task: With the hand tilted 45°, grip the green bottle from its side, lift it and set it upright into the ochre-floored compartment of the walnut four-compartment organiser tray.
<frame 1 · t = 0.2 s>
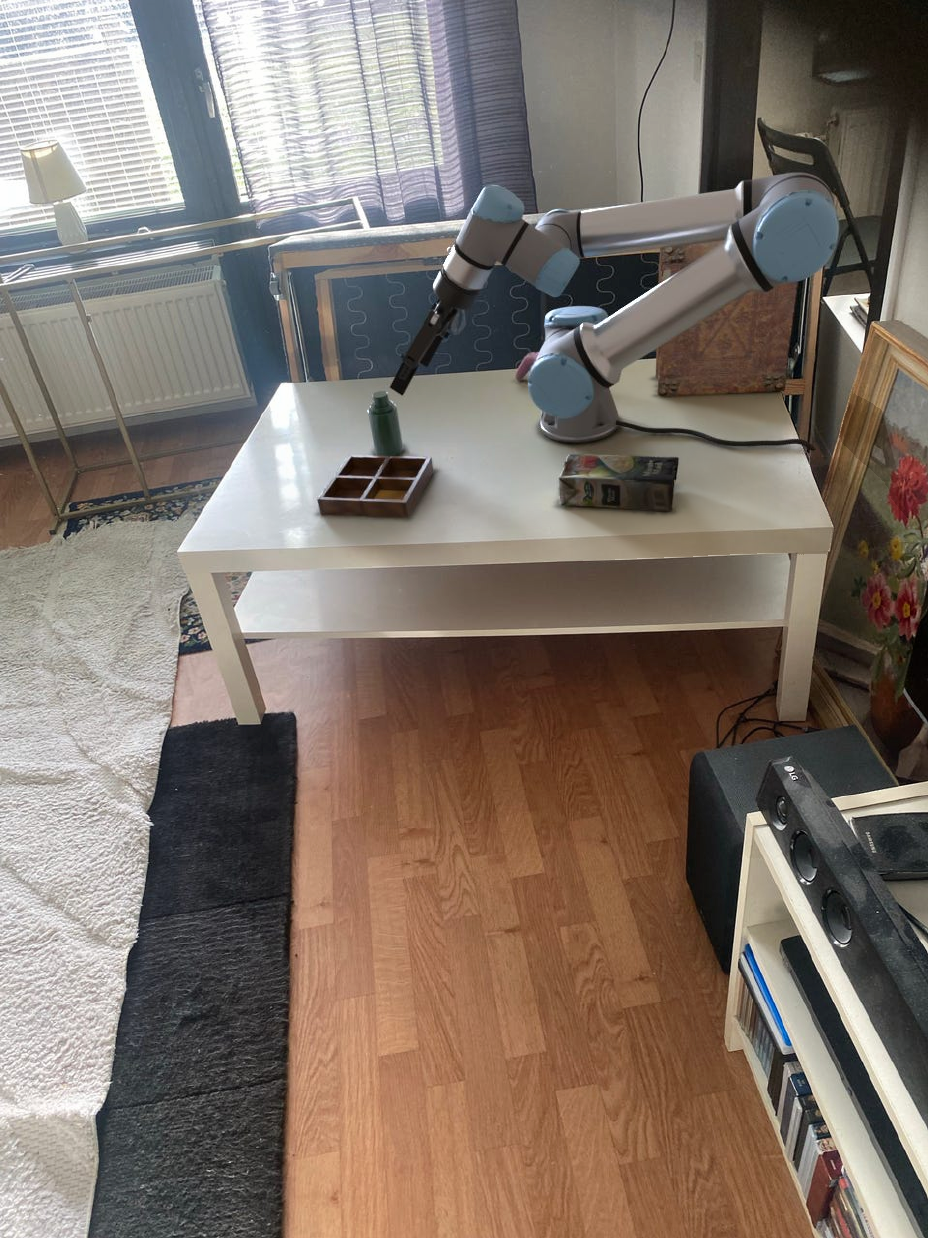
hand: (409, 376, 167), 16 cm above the table, tool tilted 35°, fingers open, 13 cm apart
book: (718, 385, 188), on the table
green bottle: (389, 451, 179), on the table
tray: (378, 492, 166), on the table
juice carton: (617, 496, 157), on the table
video game controller: (539, 381, 199), on the table
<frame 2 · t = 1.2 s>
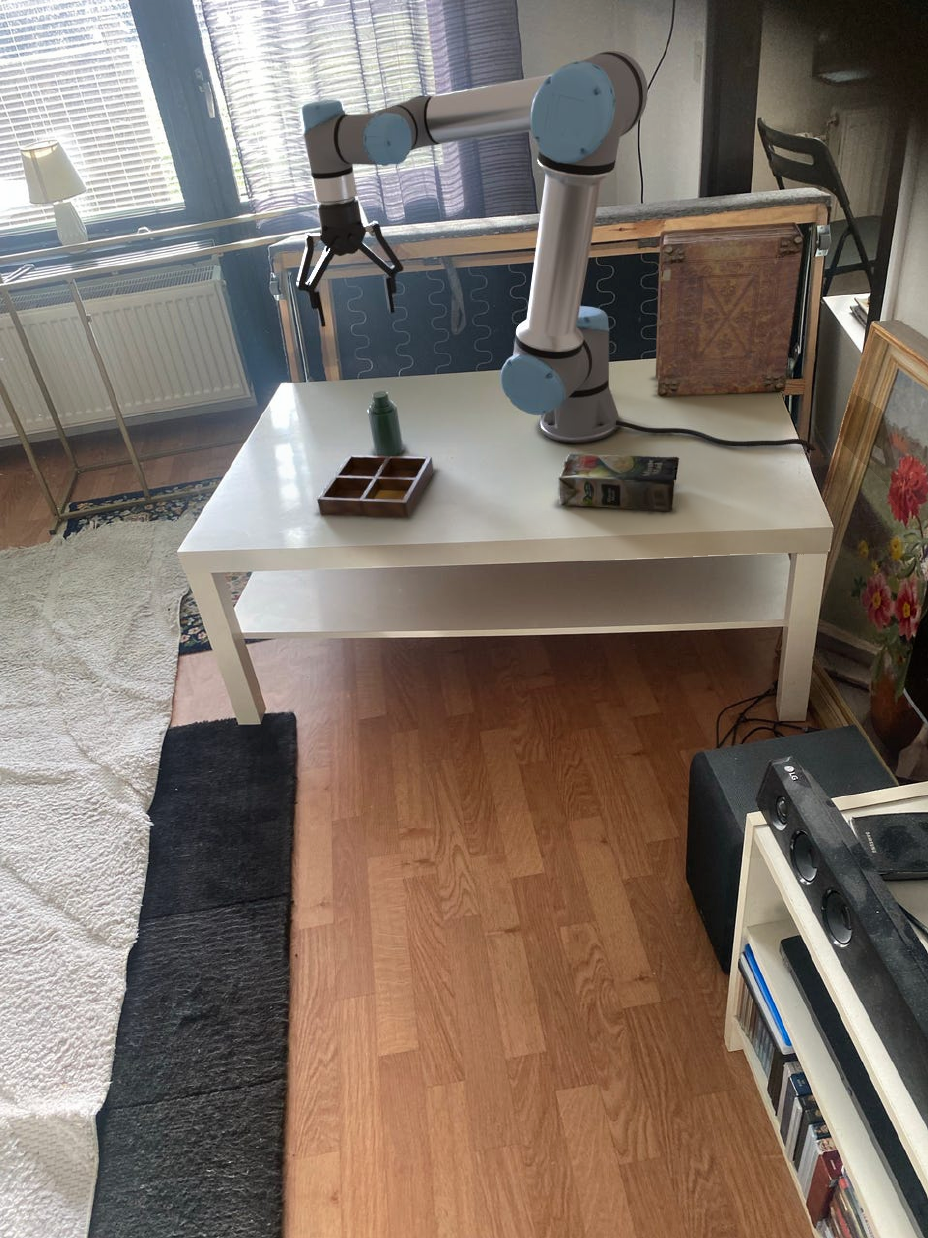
hand: (357, 317, 175), 23 cm above the table, tool pointing down, fingers open, 13 cm apart
nothing on the table moved.
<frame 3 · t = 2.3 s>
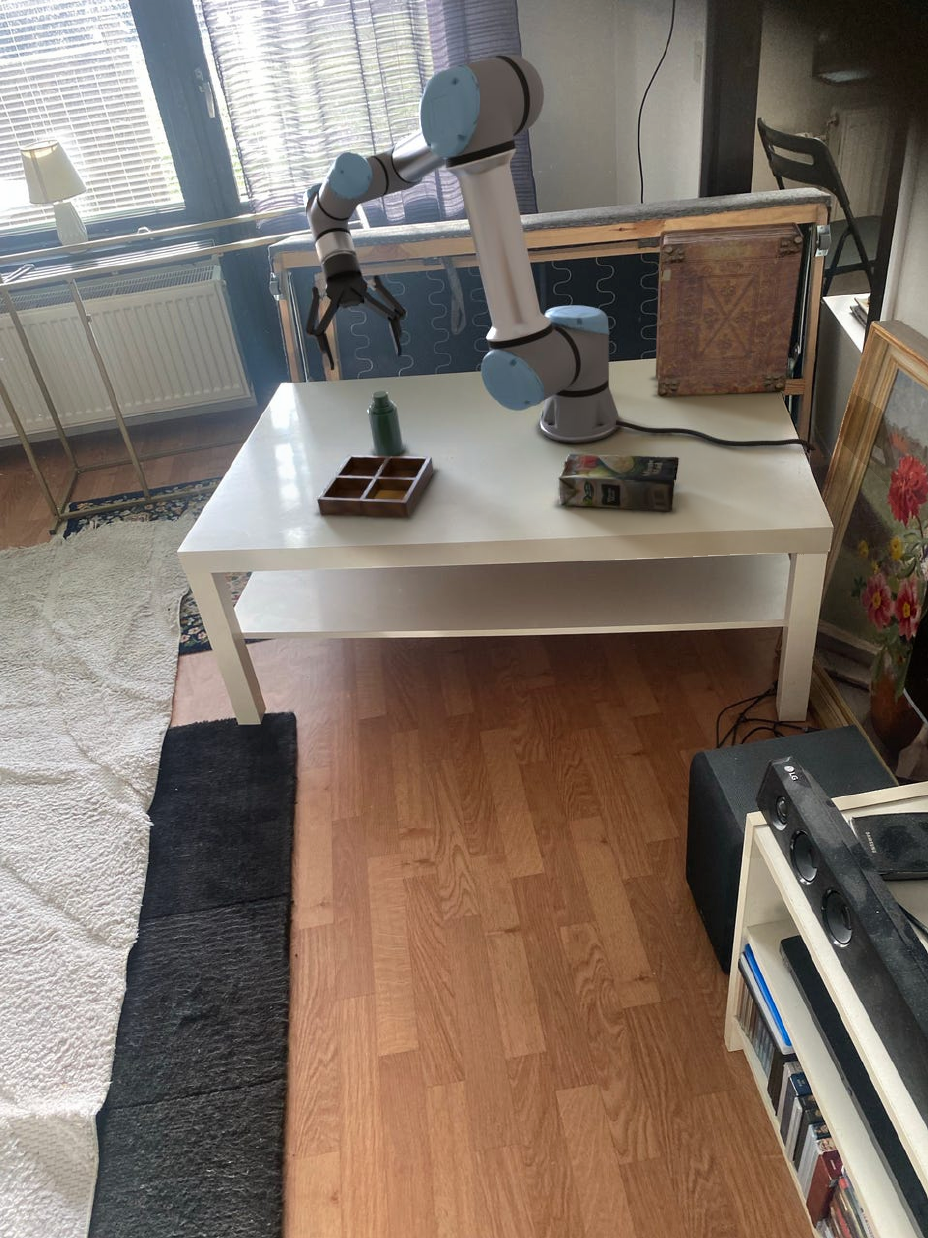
hand: (366, 360, 178), 15 cm above the table, tool tilted 45°, fingers open, 13 cm apart
nothing on the table moved.
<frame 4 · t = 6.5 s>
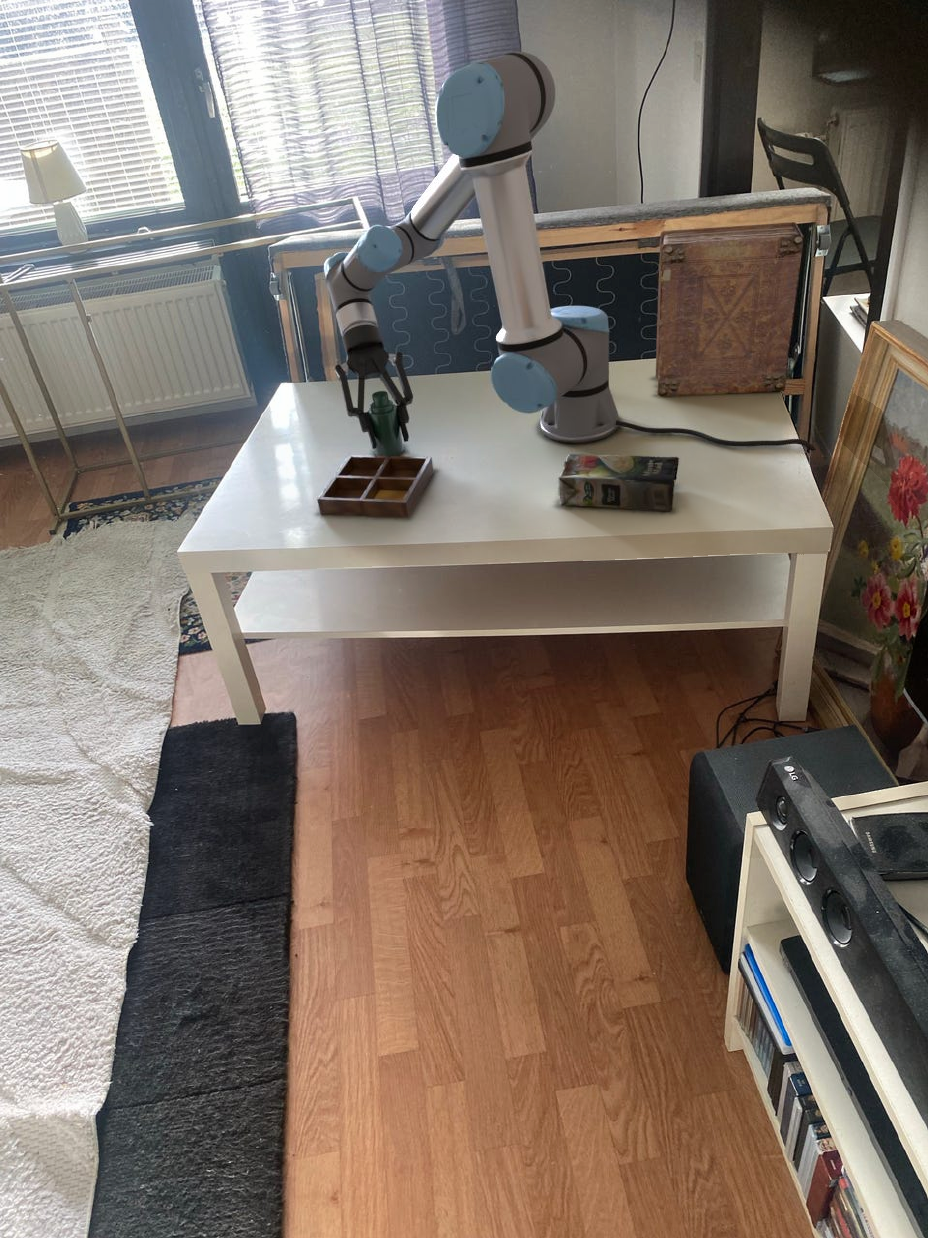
hand: (390, 442, 174), 4 cm above the table, tool tilted 45°, fingers closed on green bottle, 6 cm apart
green bottle: (389, 451, 179), on the table, touching gripper
everything else where it was.
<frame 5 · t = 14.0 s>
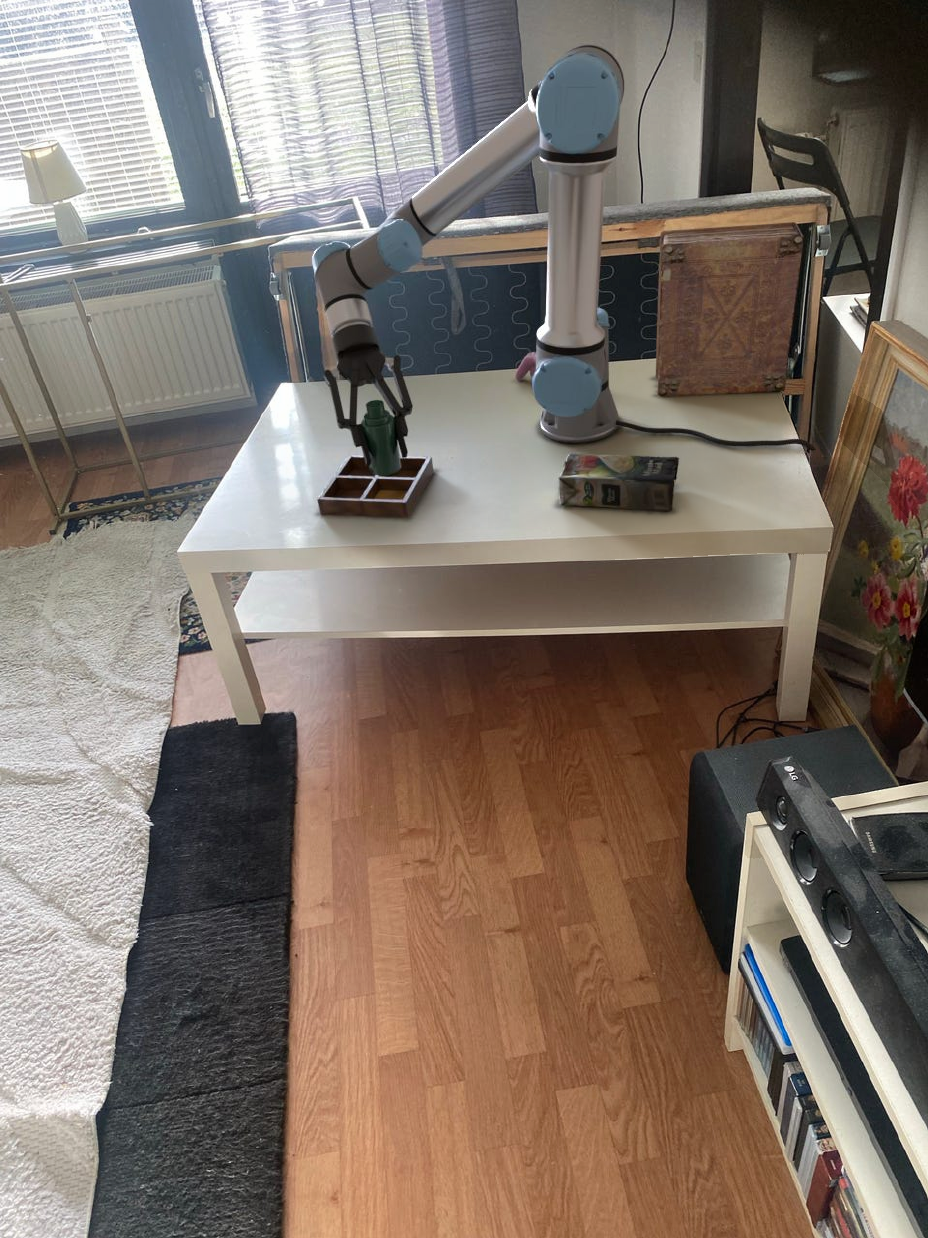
hand: (386, 458, 153), 11 cm above the table, tool tilted 45°, fingers closed on green bottle, 6 cm apart
green bottle: (385, 467, 158), point 7 cm above the table, touching gripper
everything else where it was.
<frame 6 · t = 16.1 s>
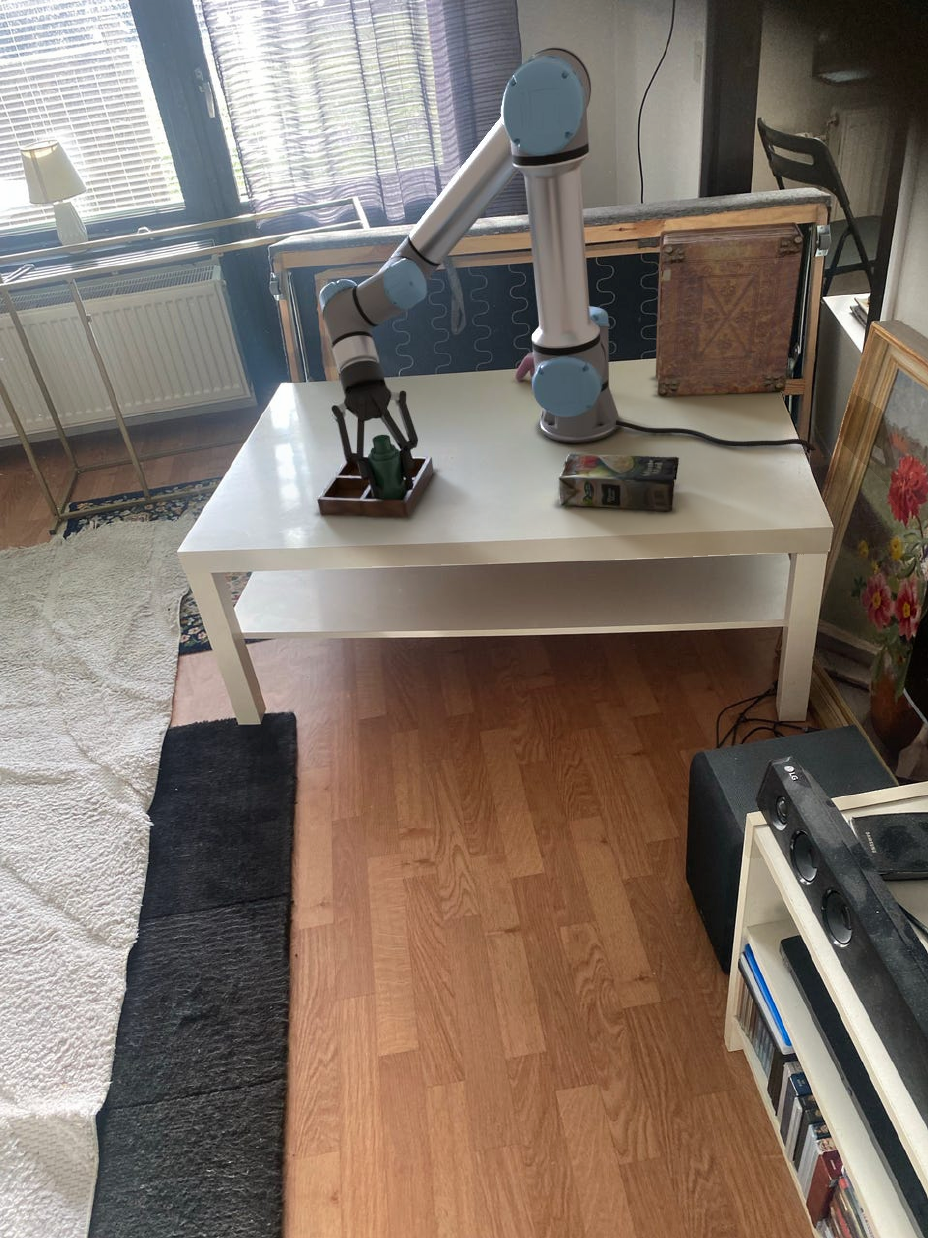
hand: (393, 491, 157), 4 cm above the table, tool tilted 45°, fingers closed on green bottle, 6 cm apart
green bottle: (392, 499, 162), point 1 cm above the table, touching gripper
everything else where it was.
when the fingers open (6 cm above the table, at t = 21.4 s): green bottle drops 1 cm, resting on tray.
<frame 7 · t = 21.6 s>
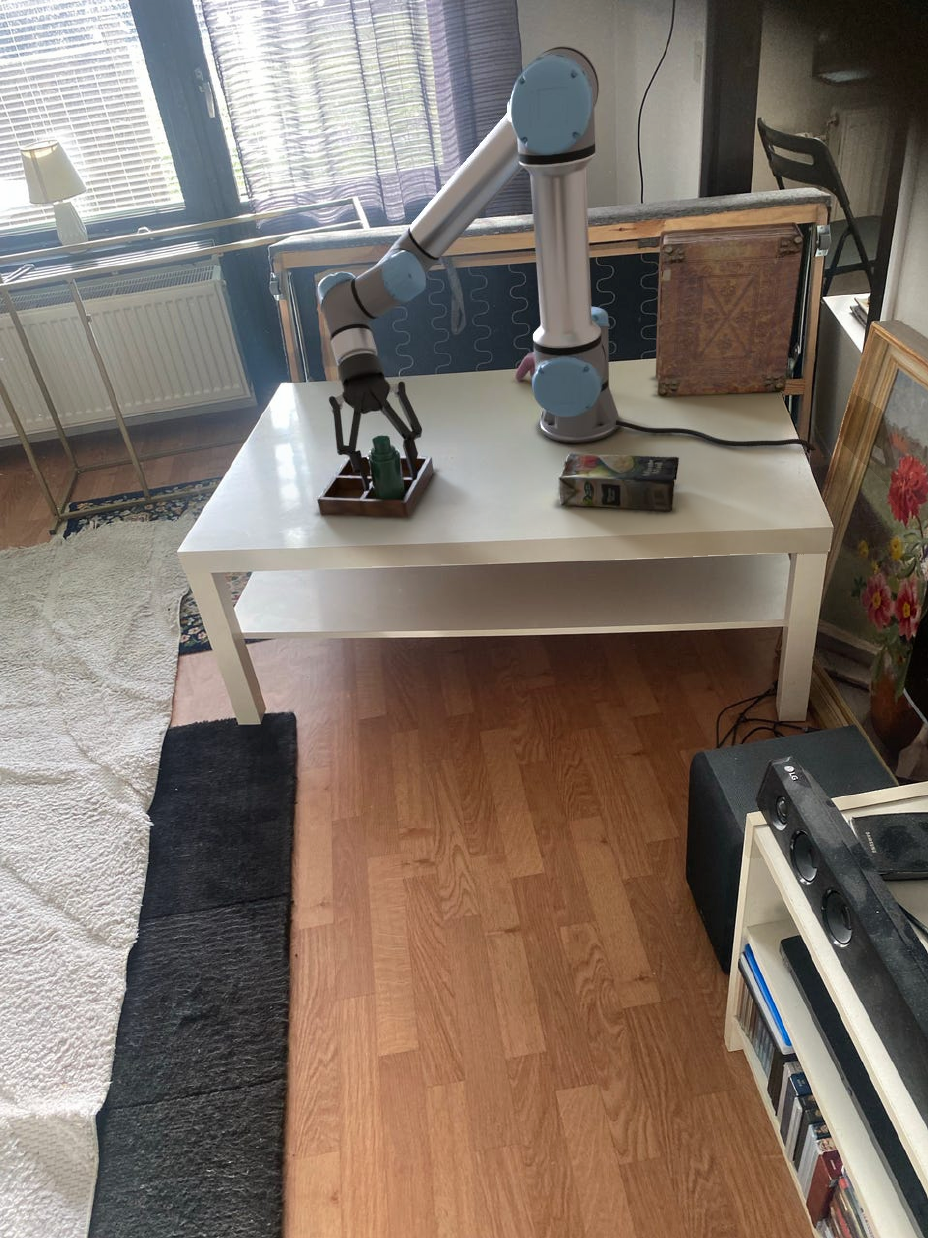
hand: (391, 482, 156), 6 cm above the table, tool tilted 45°, fingers open, 8 cm apart
green bottle: (391, 500, 162), point 1 cm above the table, touching tray
everything else where it was.
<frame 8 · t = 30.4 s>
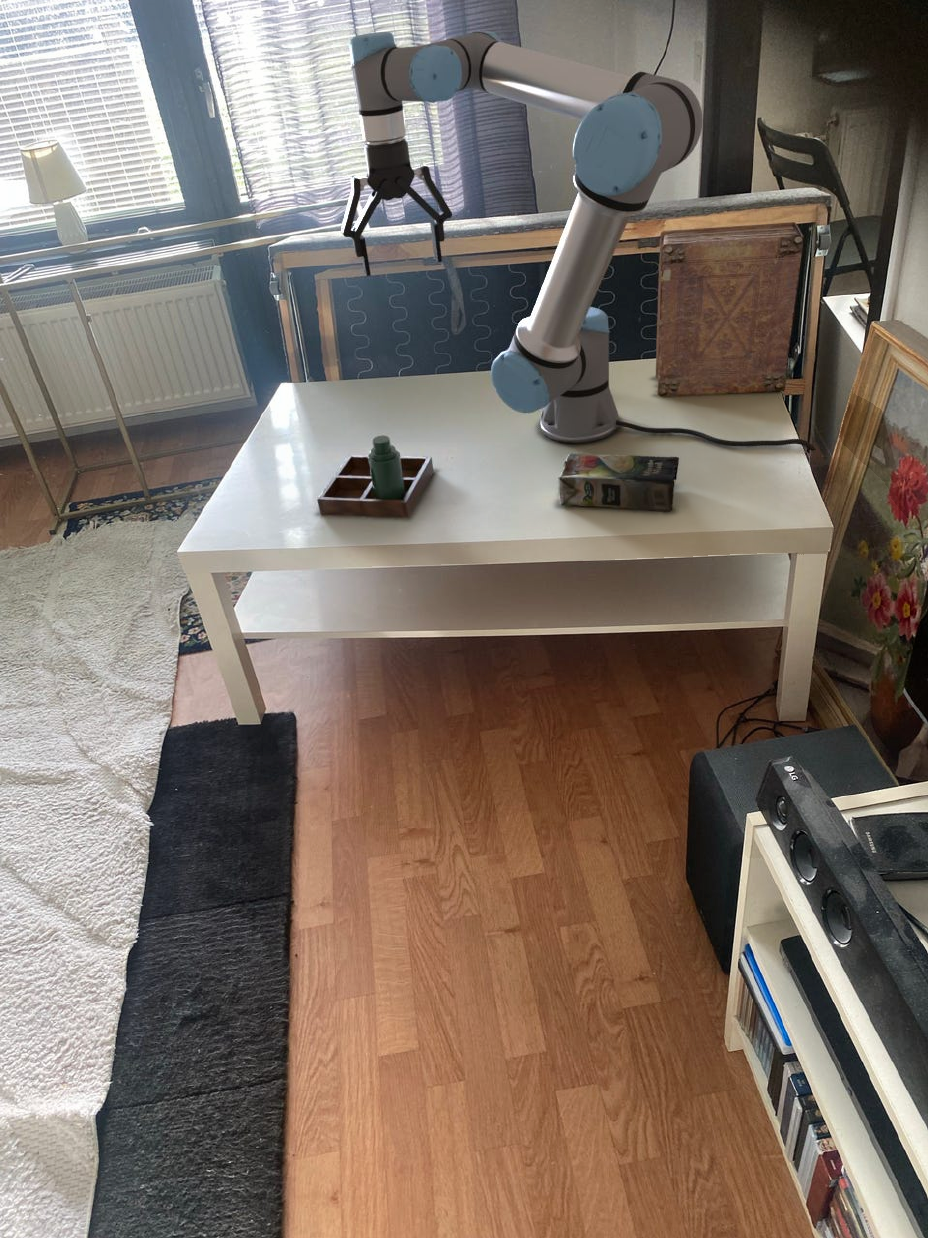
hand: (403, 267, 168), 32 cm above the table, tool pointing down, fingers open, 13 cm apart
nothing on the table moved.
at the end: green bottle 0.1 cm from the target spot in the tray, point 0.8 cm above the tray's base; green bottle tilted 0°; the gripper is holding nothing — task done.
